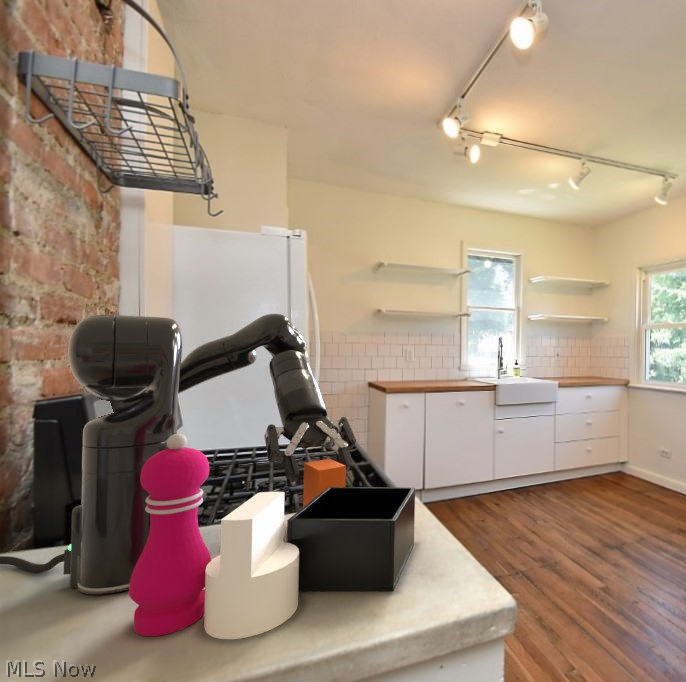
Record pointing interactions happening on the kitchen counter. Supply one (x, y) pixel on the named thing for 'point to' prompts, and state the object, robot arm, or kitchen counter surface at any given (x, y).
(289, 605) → the cylinder with rectangular tab
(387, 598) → the kitchen counter surface
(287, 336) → the robot arm
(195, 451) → the pepper mill
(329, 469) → the orange rectangular block
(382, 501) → the bin
